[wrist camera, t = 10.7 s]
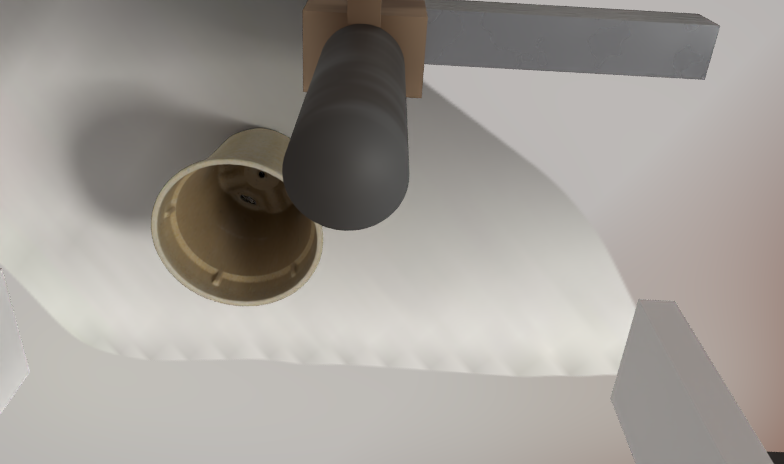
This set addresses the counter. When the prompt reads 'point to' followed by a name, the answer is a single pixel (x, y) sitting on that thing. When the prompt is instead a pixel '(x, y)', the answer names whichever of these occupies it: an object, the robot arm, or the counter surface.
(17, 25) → the counter surface
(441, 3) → the rail
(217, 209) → the flower pot
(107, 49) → the counter surface
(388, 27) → the pusher
